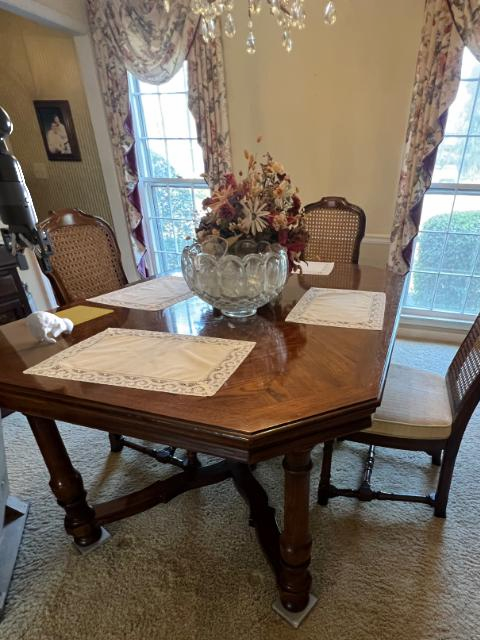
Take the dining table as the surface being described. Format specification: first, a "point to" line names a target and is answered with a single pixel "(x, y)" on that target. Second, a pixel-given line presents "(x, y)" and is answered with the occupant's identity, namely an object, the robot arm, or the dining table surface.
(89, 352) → the dining table surface
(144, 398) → the dining table surface
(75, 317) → the cloth
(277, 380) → the dining table surface
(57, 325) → the white animal figurine
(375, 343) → the dining table surface
